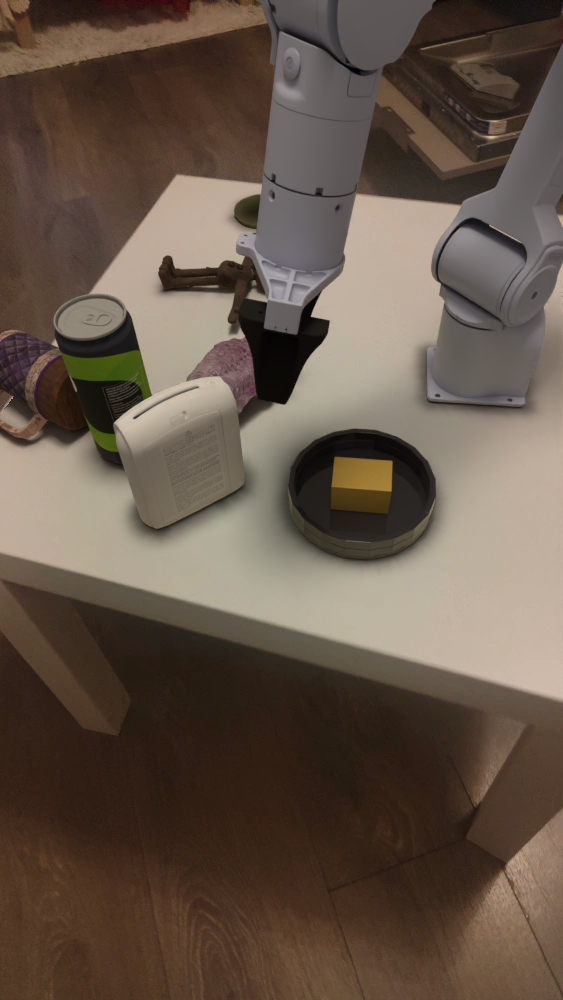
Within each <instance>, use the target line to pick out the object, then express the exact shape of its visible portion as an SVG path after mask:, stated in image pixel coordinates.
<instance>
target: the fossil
mask: <svg viewBox="0 0 563 1000" xmlns="http://www.w3.org/2000/svg"><path fill="white" fill-rule="evenodd" d="M216 376H219V377H221V378H222V380H223V381H224V382H225V383H226V384H228V385H229V387H230V389H231V391H232V393H233V396H234V398H235V401H236V405H237V410H238V415H240V413H242V412H243V409H244V407H246V405H247V404H248V402H249V401H250V400H251V399H252V398H254V397H257V394H256V388H255V380H254V369H253V361H252V355H251V351H250V348H249V345H248V342H247V340H246V338H245V336H243V338H235V337H233V338H230V339H228V340H227V339H226V340H223V341H220V342H218V343H216V344H213V347H212V349H210V350H209V351H208V352H206V353H205V355H204V356H203V358H202V359H201V361H200V362H198V363H197V364H196V366H195V368H194V369H193V370H192V371H191V372H190V373H189V374H188V375H187V377H186V380H185V382H187V381H191V380H195V379H199V378H205V377H216Z"/></svg>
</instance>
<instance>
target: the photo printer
mask: <svg viewBox="0 0 563 1000" xmlns="http://www.w3.org/2000/svg"><path fill="white" fill-rule="evenodd" d="M113 427H114V431H115V435H116V444H117V448H118V451H119V454H120V457H121V460H122V463H123V464H122V466H123V470H124V472H125V475H126V477H127V478H126V479H127V482H128V485H129V488H130V492H131V494H132V497H133V501H134V504H135V506H136V509H137V513H138V515H139V518H140V520H141V521H142V522H143V524H145V525H146V526H148V527H149V528H154V529H156V530H157V529H161V528H164V527H167V526H169V525H172V524H174V523H176V522H178V521H180V520H182V519H184V518H186V517H188V516H190V515H192V514H194V513H196V512H198V511H201V510H202V509H204V508H205V507H207V506H209V505H211V504H213V503H215V502H217V501H220V500H221V499H223V498H225V497H227V496H229V495H231V494H232V493H234V492H236V491H237V490H239V489H240V488H241V487H243V486H244V484H246V483H245V482H246V475H245V466H244V458H243V457H244V456H243V449H242V448H243V447H242V440H241V439H242V438H241V429H240V421H239V414H238V410H237V405H236V401H235V398H234V396H233V393H232V391H231V389H230V387H229V385H228V384H226V383H225V382H224V381H223V380H222V378H221V377H219V376H216V377H205V378H199V379H195V380H191V381H187V382H186V381H184V382H181V383H178V384H175V385H172V386H170V387H168V388H165V389H162V390H160V391H159V392H157V393H155V394H153V395H152V396H151V397H149V398H147V399H145V400H144V401H142V402H140V403H139V404H137V405H135V406H134V407H132V408H131V409H130V410H128V411H127V412H126V413H124V414H123V415H122V416H121V417H120V418H119V419H118V420H116V421H115V422H114V425H113Z"/></svg>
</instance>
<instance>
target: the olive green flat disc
mask: <svg viewBox="0 0 563 1000" xmlns="http://www.w3.org/2000/svg"><path fill="white" fill-rule="evenodd" d="M260 197H261V193H260V194H252V195H249V196H246V197H245V198H242V199H240V200H239V201H238V202H237V203H236V204H235V205H234V208H233V213H234V217H235V218H236V219H237V221H238V222H239V223H240V224H242V225H244V226H246V227H248V228H252V229H257V223H258V214H259V205H260Z"/></svg>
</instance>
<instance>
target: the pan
mask: <svg viewBox="0 0 563 1000" xmlns="http://www.w3.org/2000/svg"><path fill="white" fill-rule="evenodd" d="M334 457H346V458H359V459H373V460H387V461H392V462H393V463H392V492H391V498H390V504H389V511H388V514H382V513H370V512H357V511H345V510H332V509H331V486H332V476H333V467H334ZM436 481H437V479H436V476H435V474H434V472H433V470H432V467H431V465H430V463H429V461H428V460H427V458H426V457H425V456H424V455H423V454H422V453H421V452H420V451H419V449H417V448H416V446H414V445H412V444H411V443H409V442H407V441H406V440H404V439H402V438H401V437H399V436H397V435H394V434H391V433H388V432H384V431H381V430H378V429H371V428H369V429H367V428H348V429H342V430H337V431H335V430H334V431H332V432H329V433H327V434H325V435H322V436H321V437H318V438H316V439H314V440H313V441H312V442H310V443H309V444H308V445H307V446H305V448H303V449H302V450H301V451H299V453H298V454H297V456H296V458H295V459H294V461H293V463H292V464H291V466H290V469H289V475H288V481H287V497H288V498H287V500H288V504H289V511H290V514H291V518H292V520H293V522H294V524H295V525H296V527H297V529H298V530H299V531H300V533H302V535H303V536H304V537H305V538H306V539H307V540H308V541H309V542H311V543H312V544H313V545H315V546H316V547H318V548H319V549H321V550H322V551H325V552H327V553H329V554H332V555H334V556H338V557H341V558H344V559H345V558H346V559H351V560H364V561H365V560H366V561H367V560H376V559H382V558H386V557H389V556H392V555H395V554H397V553H400V552H402V551H403V550H405V549H407V548H409V547H410V546H411V545H412V544H414V543H415V542H416V541H417V540H418V539H419V538H420V537H421V536H422V534H423V533H424V532H425V530H426V528H427V527H428V525H429V522H430V519H431V516H432V513H433V510H434V506H435V502H436V498H437V483H436Z"/></svg>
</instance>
